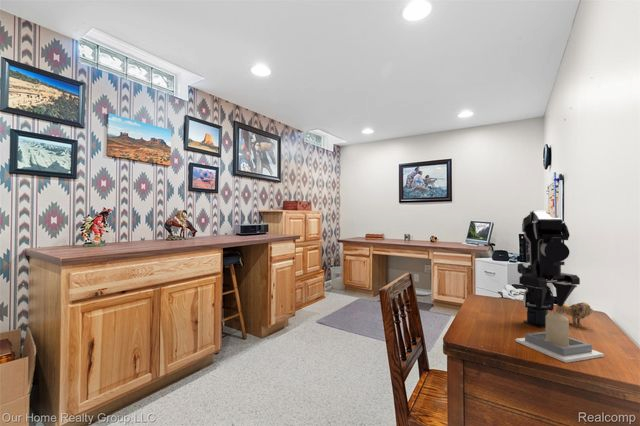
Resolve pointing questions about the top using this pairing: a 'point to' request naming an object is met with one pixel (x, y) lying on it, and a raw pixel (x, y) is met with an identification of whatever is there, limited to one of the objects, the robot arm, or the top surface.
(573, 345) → the candle tray
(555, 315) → the candle
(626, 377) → the top surface
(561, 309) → the lion figurine
